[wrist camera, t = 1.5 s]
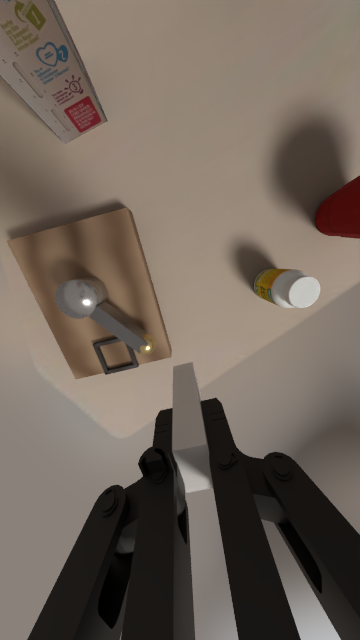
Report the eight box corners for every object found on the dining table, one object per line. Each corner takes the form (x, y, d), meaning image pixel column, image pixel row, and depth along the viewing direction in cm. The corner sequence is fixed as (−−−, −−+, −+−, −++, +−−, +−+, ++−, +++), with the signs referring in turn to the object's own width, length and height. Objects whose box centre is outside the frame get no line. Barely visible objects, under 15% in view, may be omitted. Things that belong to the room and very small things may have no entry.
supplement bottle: (289, 283, 32) (335, 292, 23) (265, 305, 33) (299, 321, 24) (270, 261, 31) (310, 261, 22) (246, 284, 32) (274, 293, 23)
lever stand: (131, 212, 28) (125, 205, 25) (171, 349, 35) (171, 359, 32) (23, 242, 29) (1, 240, 25) (83, 370, 36) (73, 382, 33)
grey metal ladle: (69, 295, 28) (47, 302, 24) (86, 270, 27) (68, 271, 23) (146, 352, 32) (141, 368, 27) (165, 331, 31) (163, 344, 26)
